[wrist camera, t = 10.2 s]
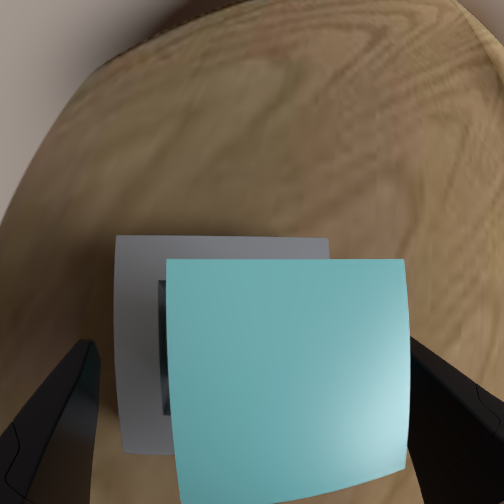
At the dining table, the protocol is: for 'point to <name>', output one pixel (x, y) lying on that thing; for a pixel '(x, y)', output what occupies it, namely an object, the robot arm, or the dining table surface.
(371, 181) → the dining table surface
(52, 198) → the dining table surface
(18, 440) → the robot arm
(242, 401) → the plug
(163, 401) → the socket
